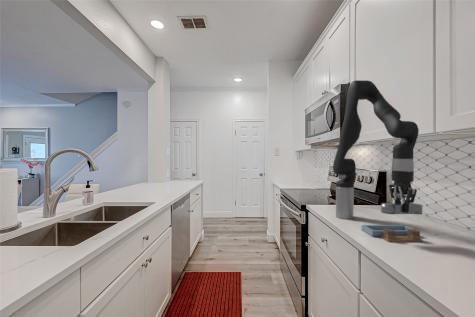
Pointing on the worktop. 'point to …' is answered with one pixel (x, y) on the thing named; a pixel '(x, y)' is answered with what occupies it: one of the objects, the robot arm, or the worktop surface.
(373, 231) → the slate-blue tray
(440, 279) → the worktop surface
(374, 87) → the robot arm
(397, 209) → the steel dumbbell
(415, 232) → the wooden plank with blocks
